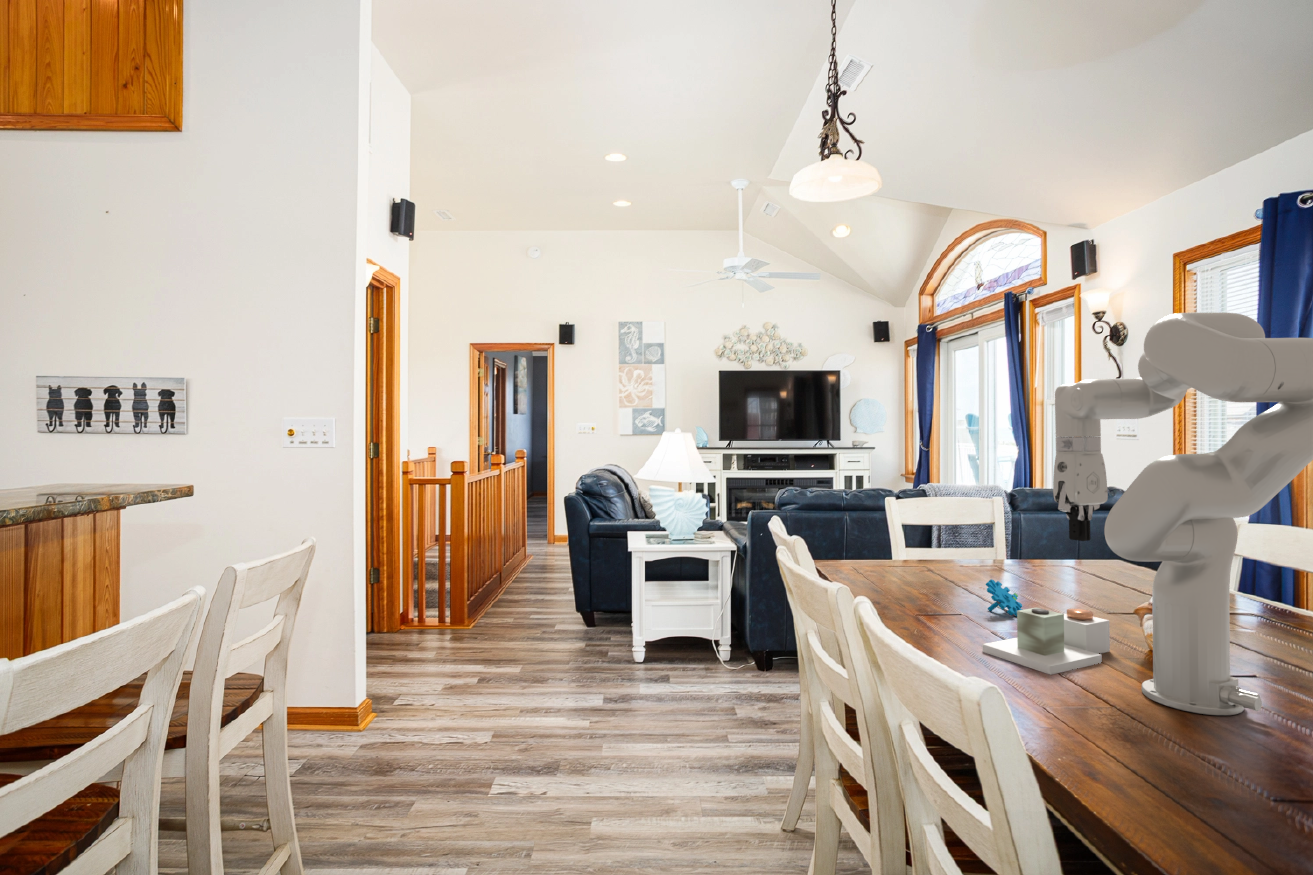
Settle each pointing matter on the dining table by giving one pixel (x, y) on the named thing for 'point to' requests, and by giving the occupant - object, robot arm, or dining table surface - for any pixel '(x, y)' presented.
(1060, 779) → the dining table surface
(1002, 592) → the gear
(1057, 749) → the dining table surface
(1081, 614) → the press pin
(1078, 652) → the press bed
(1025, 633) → the block
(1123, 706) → the dining table surface
